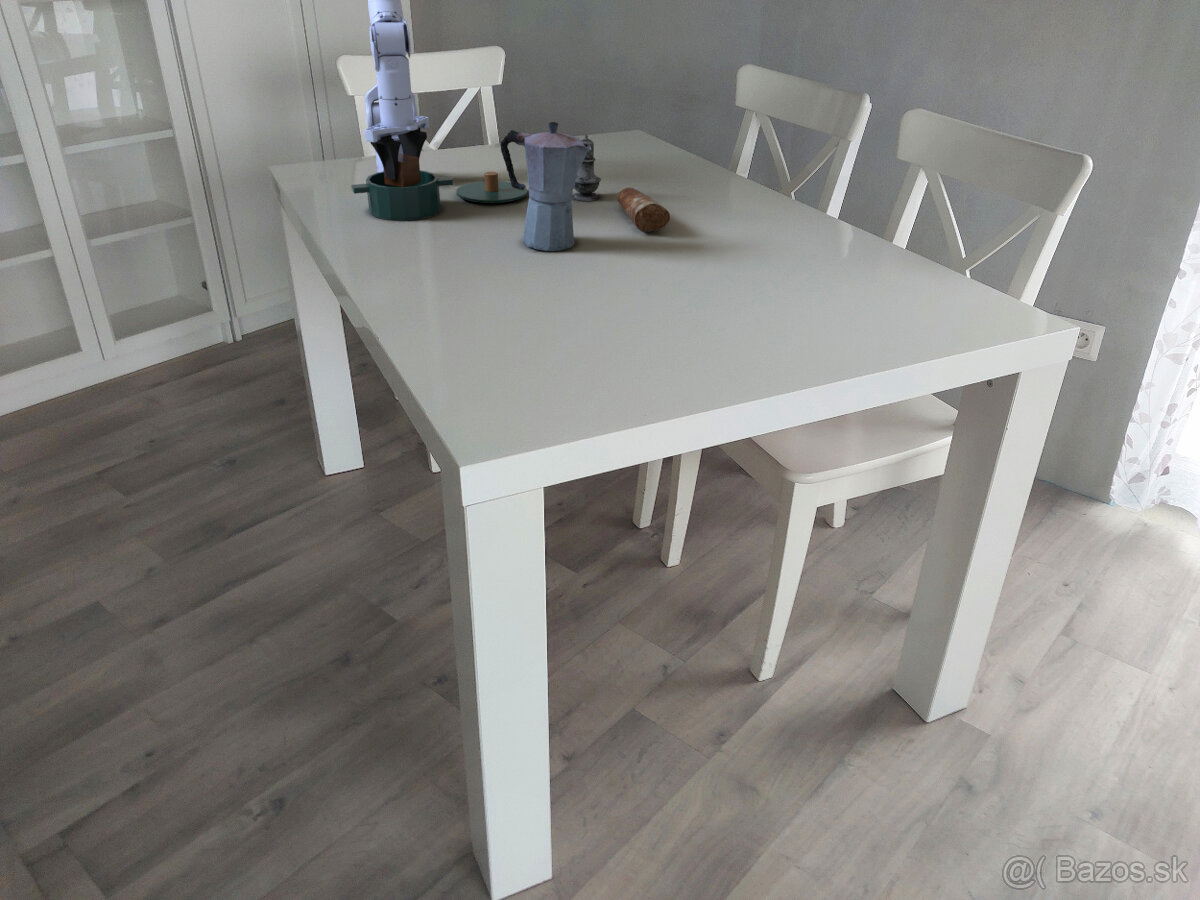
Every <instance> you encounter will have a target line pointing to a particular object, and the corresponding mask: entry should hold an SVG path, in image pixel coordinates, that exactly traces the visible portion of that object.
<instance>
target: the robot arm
mask: <svg viewBox="0 0 1200 900" xmlns="http://www.w3.org/2000/svg"><path fill="white" fill-rule="evenodd" d="M367 7H368V8H367V9H368V14H369V15H368V16H369V22H370V25H369V29H368V31H369V42H370V50H371V55H372V58H373V65H374V70H375V76H376V84H375V85H373V87H371V88H370V89H369V90H368V91H367V92H366V93H365V96H364V102H365V105H364V108H365V119H366V127H367V128H364V130H363V131H364V139H365V142H369V143H370V145H371V146H372V148H373V149H374V151H375V152H374V153H375V161H376V171H377V172H376V173H378V172H383V171H384V170H385V173H386V176H387V178H389V179H394V180H396V179H398V155H399V154H405V155H410V156H415V157H419V159H420V157H421V153H422V151H423V148H424V144H425V142H426V140H427V138H428V134H427V132H426V131H422V130H427V129H430V117H429V116H423V115H419V116H418V109H417V104H416V97H415V96H416V95H414V93H413V91H412V84H411V83H412V82H411V71H410V59H411V53H412V45H411V35H410V29H409V25H408V22H407V19H406V18H405V17H404V12H403V4H402V0H367ZM407 55H408V57H407ZM383 167H384V169H383Z"/></svg>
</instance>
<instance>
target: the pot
mask: <svg viewBox="0 0 1200 900" xmlns="http://www.w3.org/2000/svg"><path fill="white" fill-rule="evenodd" d="M420 178H421V183H418V184H415V185H411V186H408V187H397V186H392V185H388V184H385V179H384V171H383V172H378V173H377V172H376V173H373V174H370V175H368V177H366V179H365V183H357V184H351V191H352V192H353V193H354V195H355V194H366V193H367V194H366V195H367V203H368V204H367V205H368V210H369V213H370V215H372V216H373V217H375V218H377V219H381V220H387V221H399V222H400V221H401V222H402V221H416V220H423V219H426V218H430V217H433V216H435V215H437V214H439V213H440V211H441V197H440V195H441V193H440V187H445V186H453V185H454V179H453V178H452V177H451V176H440V177H439V176H438V175H437V174H436V173H434V172H431V171H428V170H421V169H420Z"/></svg>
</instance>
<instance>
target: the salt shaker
mask: <svg viewBox="0 0 1200 900" xmlns="http://www.w3.org/2000/svg"><path fill="white" fill-rule="evenodd" d="M580 141H583V142H585V143H587V144H588V145H589V146H590V147H591V149H592V150H590V151H588V153H587V154H586V156H585V158H584V160H583V162H582V164H581V167H580V169H579V170H578V172H577V176H576V182H575V187H574V189H573V190H575V191H576V193H574V194H572V198H571V199H573V200H575V201H579V202H593V201H597V200H599V199H600V195H598V194H597V193H595V192H596V191H597V190H598V188H599V187H600V182H601V181H602V179H601V177H600V176H597V175H596V173H595V161H596V159H597V158H595V154H594V151H595V149H594V148H595V143H594V141H593V140H592V139H589V135H588V134H586V133H585V135H584V138H583V139H581V140H580Z"/></svg>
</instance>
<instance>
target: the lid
mask: <svg viewBox="0 0 1200 900" xmlns="http://www.w3.org/2000/svg"><path fill="white" fill-rule="evenodd" d="M455 192H456V193H455V194H456V196H457V198H460V199H462V200H465V201H470V202H474V203H480V204H504V203H508V202H512V201H518V200H521V199H523V198H525V197H526V196H527V195H528V188H527V186H526V187H525V189H524V190H519V189H517V188H513V187H512V185H511V181H504V180H502V181H501V180H499V173H498V172H497V171H486V172H484V181H483V180H482V181H475V182H470V183H466V184H463V185H460V186H459V187H457V189H456V190H455Z"/></svg>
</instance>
